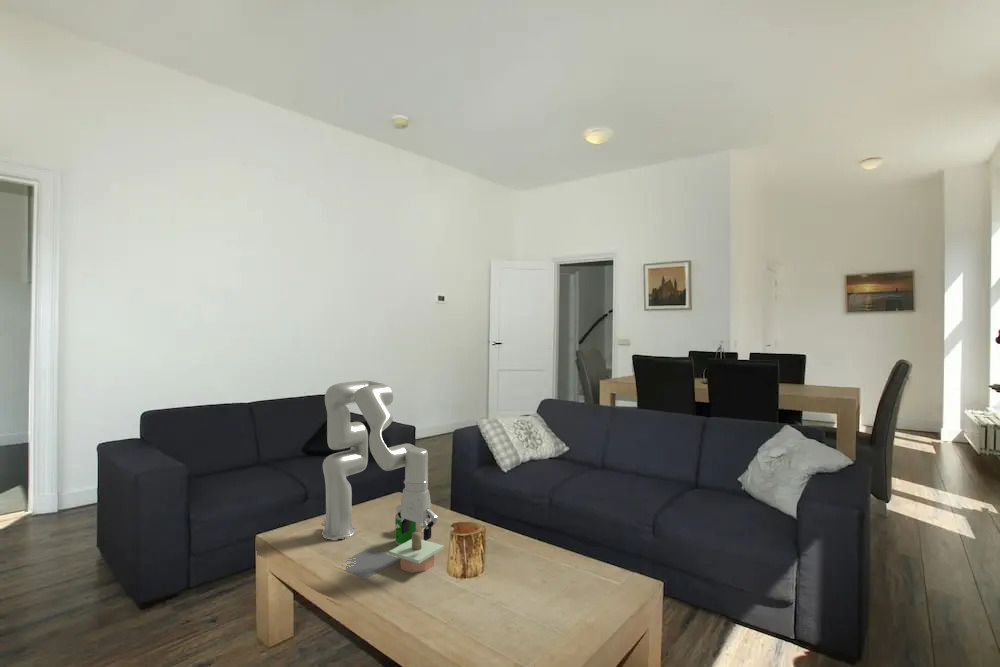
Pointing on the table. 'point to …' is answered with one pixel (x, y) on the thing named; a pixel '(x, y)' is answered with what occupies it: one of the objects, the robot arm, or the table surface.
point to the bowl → (417, 565)
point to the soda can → (398, 529)
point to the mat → (370, 563)
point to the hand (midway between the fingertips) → (416, 535)
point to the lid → (416, 549)
